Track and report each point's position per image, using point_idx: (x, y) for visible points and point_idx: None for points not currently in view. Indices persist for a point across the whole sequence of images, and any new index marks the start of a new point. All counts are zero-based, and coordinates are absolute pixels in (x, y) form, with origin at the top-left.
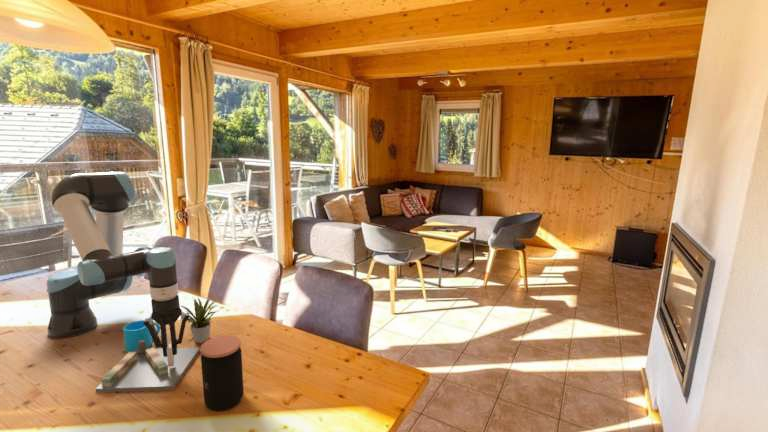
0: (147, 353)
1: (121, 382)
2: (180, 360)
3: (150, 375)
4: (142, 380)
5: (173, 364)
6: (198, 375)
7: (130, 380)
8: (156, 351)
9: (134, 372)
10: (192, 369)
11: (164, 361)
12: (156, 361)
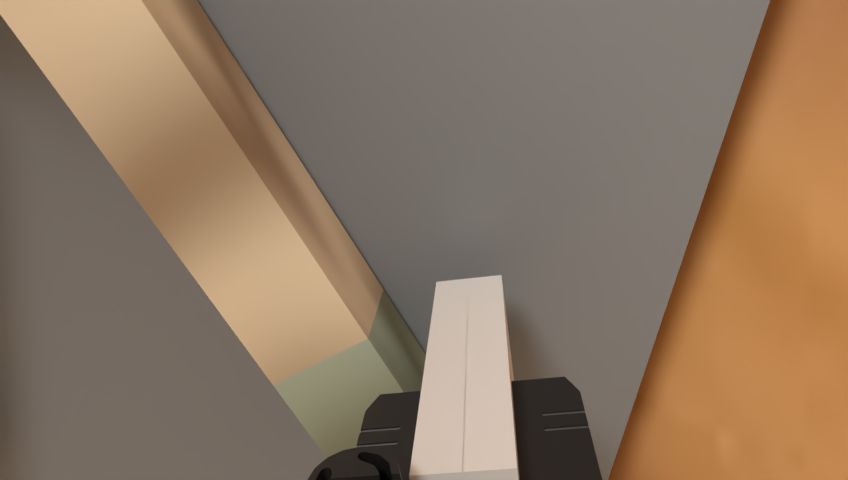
0: (27, 34)
1: (33, 451)
2: (559, 160)
3: (277, 404)
4: (230, 471)
5: (513, 379)
6: (785, 443)
7: (105, 439)
8: (156, 32)
9: (69, 303)
10: (713, 314)
11: (391, 375)
12: (277, 347)
